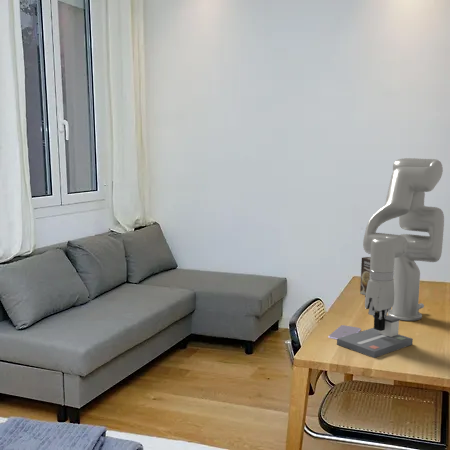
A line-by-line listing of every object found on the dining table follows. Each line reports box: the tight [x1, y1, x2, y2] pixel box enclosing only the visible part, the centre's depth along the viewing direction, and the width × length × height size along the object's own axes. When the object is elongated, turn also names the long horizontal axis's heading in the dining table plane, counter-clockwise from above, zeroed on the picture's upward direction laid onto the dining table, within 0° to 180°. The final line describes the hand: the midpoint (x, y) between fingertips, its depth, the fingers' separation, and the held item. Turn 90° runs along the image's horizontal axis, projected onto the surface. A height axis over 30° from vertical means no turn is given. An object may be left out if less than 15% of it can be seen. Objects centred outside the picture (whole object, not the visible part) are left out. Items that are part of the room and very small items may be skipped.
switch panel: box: [336, 327, 414, 359], centre depth 195 cm, size 20×15×2 cm
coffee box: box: [359, 256, 371, 296], centre depth 256 cm, size 9×6×16 cm
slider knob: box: [378, 314, 400, 337], centre depth 199 cm, size 4×5×6 cm
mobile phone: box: [327, 324, 362, 340], centre depth 206 cm, size 8×1×15 cm
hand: (379, 329), depth 196 cm, fingers closed
